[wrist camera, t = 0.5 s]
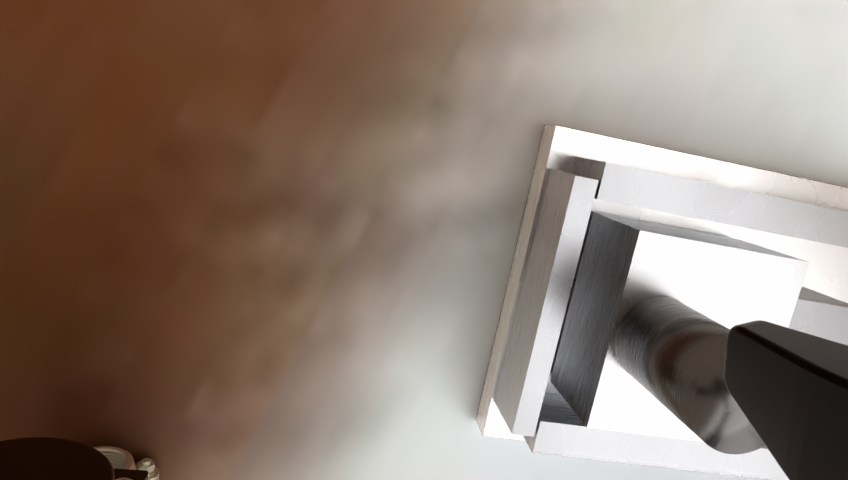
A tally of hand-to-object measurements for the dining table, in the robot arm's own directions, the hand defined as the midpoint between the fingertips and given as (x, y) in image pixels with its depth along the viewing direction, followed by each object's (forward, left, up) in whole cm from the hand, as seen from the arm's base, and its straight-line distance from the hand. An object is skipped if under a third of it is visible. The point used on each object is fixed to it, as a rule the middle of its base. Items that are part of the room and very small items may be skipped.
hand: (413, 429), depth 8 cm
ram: (-1, -12, -13) cm, 18 cm away
